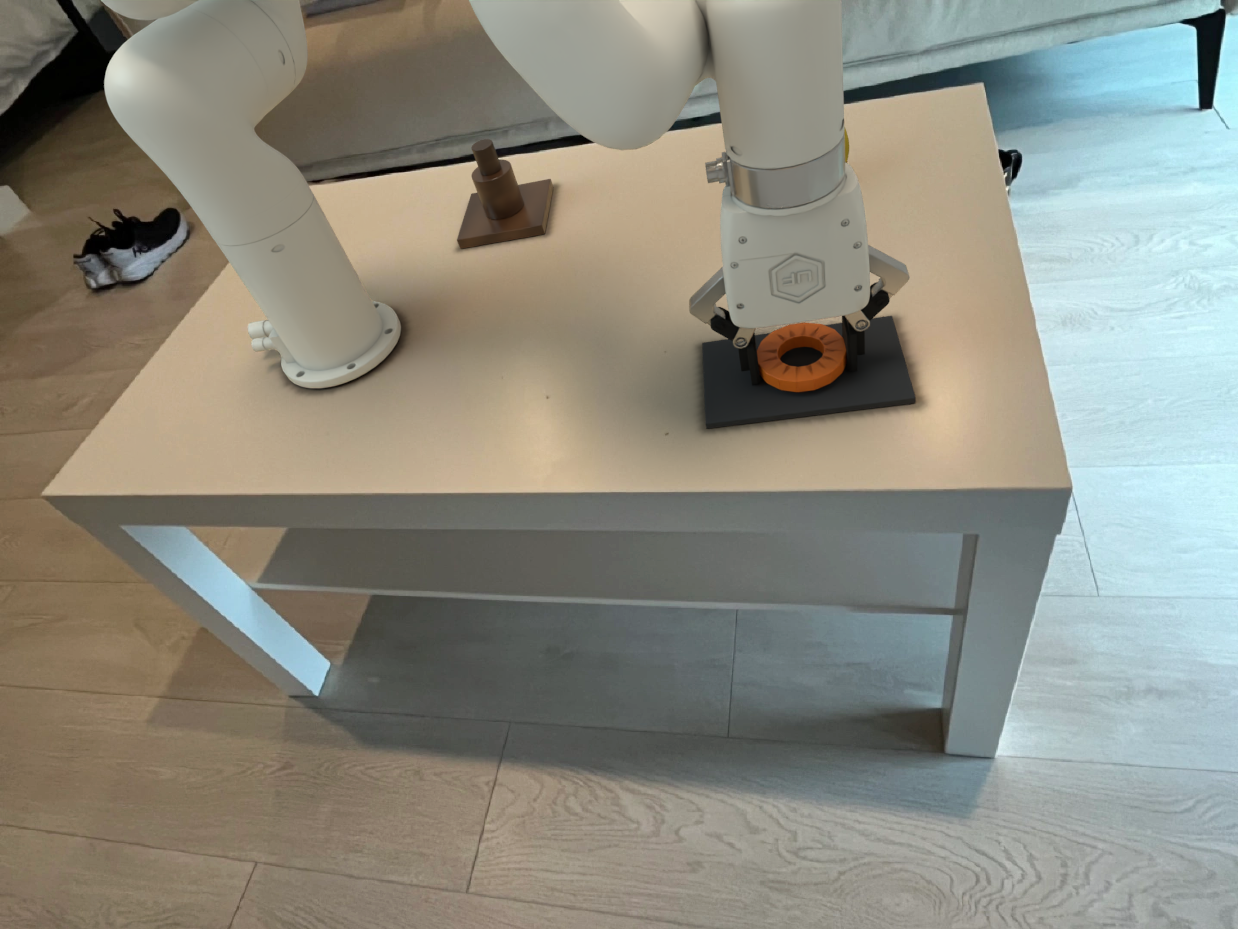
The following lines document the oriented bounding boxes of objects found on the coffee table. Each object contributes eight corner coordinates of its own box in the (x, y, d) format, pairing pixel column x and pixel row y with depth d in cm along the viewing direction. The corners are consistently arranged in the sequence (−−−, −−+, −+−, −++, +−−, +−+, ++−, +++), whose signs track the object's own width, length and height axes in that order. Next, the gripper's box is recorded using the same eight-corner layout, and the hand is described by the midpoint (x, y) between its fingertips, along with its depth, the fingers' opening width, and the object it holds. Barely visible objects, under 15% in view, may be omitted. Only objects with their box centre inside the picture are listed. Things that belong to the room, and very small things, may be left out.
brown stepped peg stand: (460, 249, 92) (429, 176, 86) (474, 202, 99) (447, 131, 92) (544, 234, 90) (520, 158, 84) (553, 187, 97) (531, 114, 90)
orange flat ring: (761, 397, 64) (759, 386, 64) (755, 340, 69) (753, 329, 68) (852, 385, 63) (852, 373, 62) (840, 328, 68) (839, 316, 67)
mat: (706, 429, 65) (705, 423, 65) (703, 347, 72) (702, 342, 71) (915, 403, 62) (915, 397, 62) (891, 320, 69) (892, 315, 68)
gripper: (655, 219, 53) (697, 413, 66) (937, 169, 49) (923, 383, 62) (656, 161, 58) (695, 352, 71) (912, 112, 54) (904, 322, 67)
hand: (802, 365), depth 66 cm, fingers closed on orange flat ring, 7 cm apart
